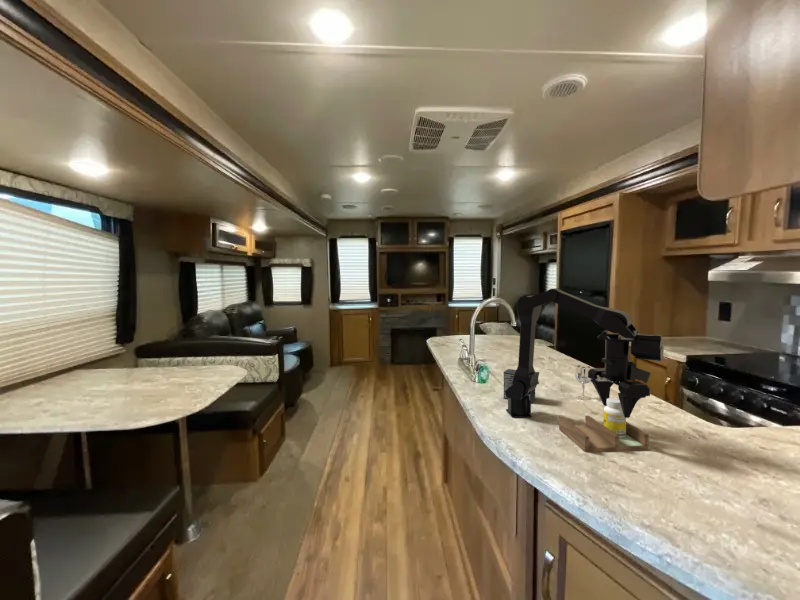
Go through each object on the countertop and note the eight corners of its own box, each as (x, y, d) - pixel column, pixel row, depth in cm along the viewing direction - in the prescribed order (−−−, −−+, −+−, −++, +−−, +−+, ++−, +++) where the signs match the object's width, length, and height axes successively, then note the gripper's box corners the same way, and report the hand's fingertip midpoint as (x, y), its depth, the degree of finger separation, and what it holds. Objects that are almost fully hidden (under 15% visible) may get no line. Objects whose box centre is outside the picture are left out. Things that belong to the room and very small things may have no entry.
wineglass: (590, 401, 131) (590, 369, 131) (573, 398, 135) (573, 367, 134) (593, 397, 136) (593, 366, 135) (576, 394, 139) (576, 364, 139)
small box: (535, 398, 135) (536, 371, 135) (532, 404, 130) (532, 375, 129) (507, 394, 141) (507, 368, 140) (502, 399, 136) (503, 371, 135)
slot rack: (585, 451, 94) (585, 436, 93) (559, 429, 108) (559, 416, 107) (648, 449, 94) (648, 434, 94) (614, 427, 108) (614, 414, 108)
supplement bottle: (606, 428, 105) (606, 395, 104) (627, 433, 101) (628, 399, 101) (601, 434, 101) (601, 400, 100) (623, 440, 97) (623, 404, 97)
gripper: (671, 363, 91) (670, 423, 92) (623, 349, 109) (622, 399, 110) (628, 364, 90) (627, 425, 91) (587, 350, 109) (586, 400, 110)
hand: (615, 411), depth 101 cm, fingers open, 9 cm apart
